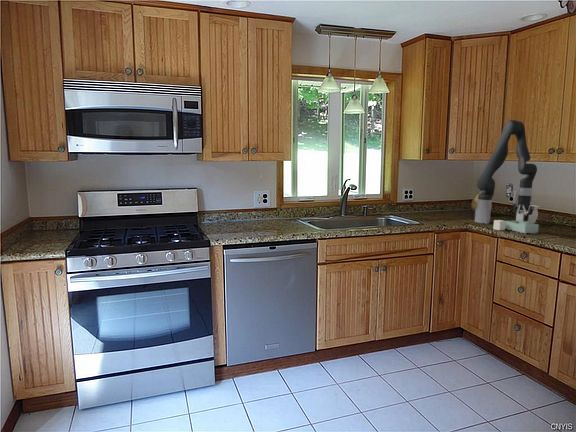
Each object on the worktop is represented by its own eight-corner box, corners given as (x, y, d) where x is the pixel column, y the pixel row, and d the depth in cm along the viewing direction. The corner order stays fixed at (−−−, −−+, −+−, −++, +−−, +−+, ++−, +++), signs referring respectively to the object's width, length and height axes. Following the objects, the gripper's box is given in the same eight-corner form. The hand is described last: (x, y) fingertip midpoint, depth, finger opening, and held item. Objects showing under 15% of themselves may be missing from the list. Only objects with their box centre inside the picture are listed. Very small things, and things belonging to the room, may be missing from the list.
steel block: (521, 220, 269) (522, 212, 268) (528, 221, 265) (529, 213, 264) (515, 220, 268) (516, 213, 267) (522, 221, 263) (523, 214, 262)
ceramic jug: (481, 217, 324) (484, 179, 319) (466, 214, 338) (469, 178, 334) (496, 216, 331) (500, 179, 326) (481, 213, 345) (484, 178, 340)
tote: (504, 229, 272) (504, 221, 271) (517, 228, 276) (517, 220, 275) (524, 233, 258) (525, 225, 257) (537, 232, 262) (538, 224, 261)
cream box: (493, 229, 273) (494, 220, 272) (498, 228, 274) (499, 220, 273) (499, 230, 268) (500, 221, 267) (505, 230, 270) (505, 221, 269)
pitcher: (523, 221, 308) (525, 203, 306) (543, 225, 291) (545, 206, 289) (511, 221, 306) (513, 203, 303) (530, 225, 288) (533, 206, 286)
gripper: (539, 195, 258) (536, 222, 261) (519, 193, 271) (516, 218, 274) (530, 195, 255) (527, 222, 258) (511, 193, 269) (508, 218, 271)
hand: (522, 220), depth 266 cm, fingers closed on steel block, 5 cm apart
